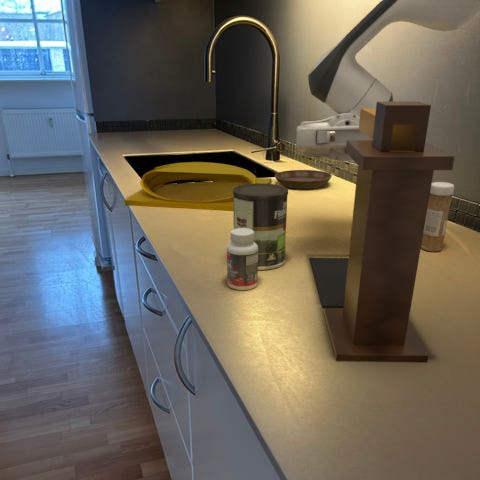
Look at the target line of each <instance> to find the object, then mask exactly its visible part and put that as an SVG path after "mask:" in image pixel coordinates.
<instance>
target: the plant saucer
mask: <svg viewBox="0 0 480 480" xmlns="http://www.w3.org/2000/svg"><path fill="white" fill-rule="evenodd" d="M332 176H333V175H332V174H331V173H330V172H327V171H324V170H323V171H322V170H314V169H291V170H290V169H289V170H282V171H279V172H276V173H275V174H274V177H275V179H276V181H277V182H278V183H279V184H280V186H284V187H286V188H288V189H289V188H290V189H297V190H298V189H300V190H306V189H307V190H309V189H318V188H322V187H324V186H326V185H327V184H328V182H329V181H330V180H331V178H332Z"/></svg>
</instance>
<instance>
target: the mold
mask: <svg viewBox="0 0 480 480" xmlns="http://www.w3.org/2000/svg"><path fill="white" fill-rule="evenodd" d="M176 181H200V182H201V181H202V182H225V183H245V184H256V183H265V184H272V178H271V177H270V178H269V177H265V178H264V177H257V176H256V175H255V174H253V172H251V171H249V170H248V169H245V168H243V167H239V166H237V165H231V164H226V163H219V162H208V161H207V162H206V161H205V162H204V161H191V162H190V161H188V162H187V161H185V162H175V163H169V164H164V165H160V166H156V167H155V168H154V169H151V170H149V171H147V172H145V173H143V174H142V176H141V180H140V182H139V183H140V187H141V189H140V190H139V191H138V192H136V193H134V194H133V195H131V196H129V197H127V198H126V199H125V200H124V205H125V206H134V207H135V206H136V207H154V208H155V207H156V208H172V209H173V208H175V209H192V210H193V209H195V210H210V211H211V210H213V211H231V212H232V211H233V194H232V195H229V196H226V197H219V198H213V199H202V200H201V199H199V200H198V199H197V200H196V199H195V200H194V199H193V200H192V199H178V198H171V197H167V196H162V195H159V194H157V193H155V191H156V190H157V189H159V188H161V187H162V186H164V185H165V184H167V183H171V182H176Z"/></svg>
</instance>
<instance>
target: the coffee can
mask: <svg viewBox="0 0 480 480" xmlns="http://www.w3.org/2000/svg"><path fill="white" fill-rule="evenodd" d="M232 195H233V212H232V213H233V229H237V228H248V229H251V230H253V231H254V241H253V242H255V243H256V244H257V245H258V271H268V270H274V269H277V268H281V267H282V266H284V264H285V263H286V241H287V240H286V238H287V217H288V214H287V213H288V195H289V188H288V187H285V186H282V185H281V184H280V185H279V184H274V183H271V184H265V183H256V184H250V183H245V184H241V185H237V186H235V187H233V188H232Z"/></svg>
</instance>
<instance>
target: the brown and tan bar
mask: <svg viewBox="0 0 480 480" xmlns="http://www.w3.org/2000/svg"><path fill="white" fill-rule="evenodd" d="M431 108H432V105H431V104H429V103H425V102H421V101H393V102H377V104H376V108H361V110H360V120H359V130H360V131H361V132H363V133H364V134H365V135H367V136H368V137H370V138H371V139H372V145H373V146H374V147H376V148H377V149H378V150H379V151H381V152H424V148H425V142H427V134H428V128H429V121H430V116H431Z"/></svg>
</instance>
